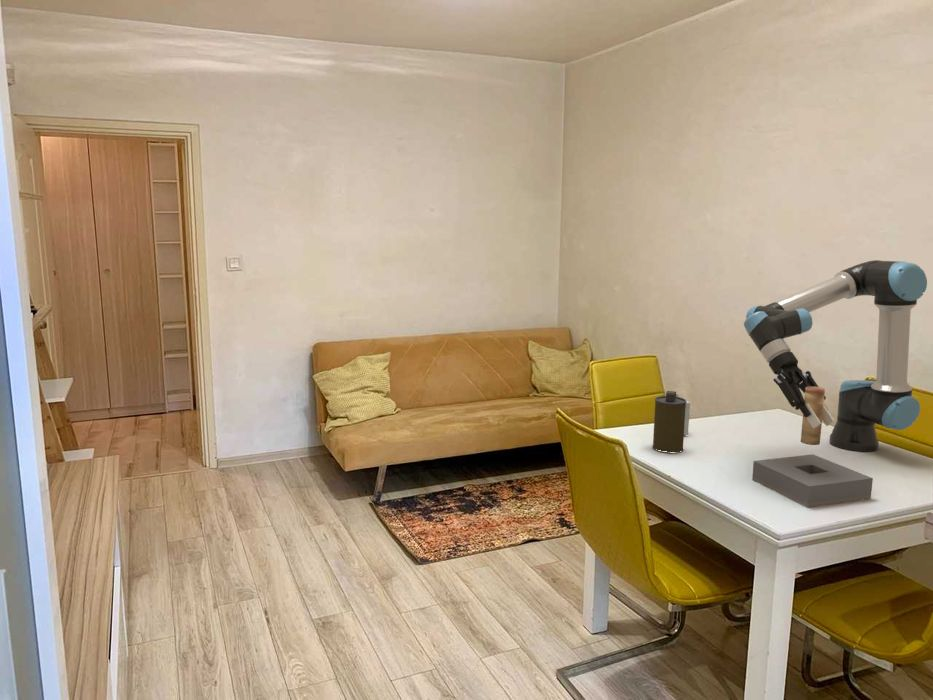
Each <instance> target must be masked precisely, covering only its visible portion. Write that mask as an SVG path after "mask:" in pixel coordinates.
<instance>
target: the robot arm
mask: <svg viewBox="0 0 933 700" xmlns="http://www.w3.org/2000/svg"><path fill="white" fill-rule="evenodd" d="M927 286H928V278H927V275H926V273H925V271H924V270H923V268H921V267H920V266H919V265H918V264H916V263H913V262H907V261H897V260H893V261H892V260H877V259H875V260H874V259H873V260H868V261H865V262H862V263H859V264H855V265H853V266H850V267H848V268H845V269H843V270H840V271H838V272H836V273H835V274H834V277H832V278H829V279H827V280H825V281H822V282H820V283H817V284H814V285H812V286H810V287H808V288H806V289H803V290H801V291H798V292H795V293H793V294H790V295H789V296H786V297H784V298H781V299H778V300H776V301H774V302H771V303H769V304H767V305H754V306H751V307H750V308H749V309H748V310H747V312H746V315H745V320H744V321H743V327H744V329H745V331H746V333H747V334H748V336H749V337H750V339H751V340H752V341H753V343H754V345H755V346H756V347H757V349H758V350H759V352H760V353H761V355H762V357H763V358H764V360H765V361H766V363H767V364H768V366H769V368H770V369H771V371H772V373H773V374H774V375H776V376H775V378H773V379H772V380H773V382H774V383H775V384H776V385H777V386H778V387H779V389H780V391H781V393H782V394H783V395H784V397H785V398H786V400H787V401H788V403H789V404H790V406H791V407H792V408H794V410H796V411H799V410H800V411H801V413H802V416H803V415H804V416H805V417H806V418H807V420H808V422H809V423H810V425H811V426H812V428H816V427H817V426H818V425H820V424H821V422H820V420H819V419H818V417H817V416H816V414H815V413H814V411H813V410H812V408H811V407H810V405H809V404H806V403H805V400H804V398H805V397H804V396H803V394H805V387H808V386H814V387H819V385H818V384H817V382H816V381H815V379H814V378H813V376H812V373H811V371H809V370H807V371H803V370H802V369H801V368H800V367H799V366H798V364H799V359H798V358H797V357H796V355H795V354H794V352H792V351H791V348H790V347H789V345H788V343H787V342H786V341H785V339H787V338H791V337H793V336H794V337H795V336H798V335H802V334H804V333H807V332H809V331H810V330H811V329H812V327H813V317H812V315H811V312H813V311H816V310H819V309H820V308H823V307H825V306H828V305H831V304H833V303H836V302H838V301H840V300H843V299H846V300H849V299H851V300H852V298H855V297H860V296H861V297H862V296H872V297H874V299H873V302H874V304H873V305H875V307H876V308H878V311H879V312H878V314H879V315H878V316H879V317H878V333H877V353H876V354H877V358H876V359H877V360H876V376H875V377H876V379H875V380H864V379H863V380H861V379H856V380H855V379H853V380H852V379H851V380H845V381H842V382H841V385H840V388H839V392H838V393H839V394H838V402H837V405H838V406H837V417H836V418H837V419H836V423H835V425H834V427H833V429H832V431H831V433H830V435H829V438H828V439H829V444H830V445H832V446H834V447H837V448H840V449H844V450H848V451H856V452H875V451H877V450H879V444H880V443H879V440H878V437H877V430H876V425H879V426H882V427H884V428H885V429H892V430H896V431H900V430H901V431H902V430H906V429H907V428H909V427H910V426H912V425H913V423H915V422H916V421H917V419H918V417H919V416H920V412H921V405H920V402H919V401H918V399H916V398H915V397H914V396H913V387H912V386H911V385H910V384H909V383H908V369H909V367H908V366H909V349H910V348H909V347H910V346H909V345H910V333H911V329H910V328H911V312H912V311H911V310H912V309H913V308H914V307H915V306H917V304H918V300H919V299H921V298H922V297H923V295H924V293H925V292H926V290H927ZM801 391H802V392H803V394H802V392H801ZM826 399H827V397H826V395H824V401H825V400H826ZM805 404H806V405H805ZM834 422H835V419H834V418H833V416H832V415H831V413H830V411H829V409H828V408H827V406H826V405H825V404H824V405H823V415H822V423H824V425H825V426H826V427H829V426H830V425H831V424H832V423H834Z"/></svg>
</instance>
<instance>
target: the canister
mask: <svg viewBox="0 0 933 700" xmlns="http://www.w3.org/2000/svg"><path fill="white" fill-rule="evenodd" d="M686 400H687V399H686V398H684V397H680V396H678V394H677V391H675V390H674V391H673V390H667V391H666V393H665V395H661V396H656V397H655V398H654V418H653V420H654V421H653V438H652V440H653V441H652V446H651V447H653V448H654V449H657V450H661V451H667V452H680V451H682V452H683V451H684V450H685V449H683V448H684V439H685V438H684V437H685V436H684V425H685V408H686V402H687V401H688V400H687V401H686ZM653 448H652V449H653ZM654 449H653V450H654ZM680 453H681V452H680Z"/></svg>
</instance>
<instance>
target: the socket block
mask: <svg viewBox="0 0 933 700" xmlns="http://www.w3.org/2000/svg"><path fill="white" fill-rule="evenodd" d="M752 467H753V468H752V479H751V481H754V482H755V481H756V483H757V482H758V483H757V484H759V483H760V485H761V484H762V485H761V486H764V487H766V488H767V489H770V490H771V491H773V490H774V491H773V492H775V491H776V492H775V493H777V492H778V494H779V495H782V496H784V497H786V498H788V499H790V500H792V501H794V502H796V503H798V504H800V505H802V506H804V507H806V508H811V507H818V506H827V505H834V504H840V503H848V502H849V501H850V502H854V501H855V500H857V501H861V499H864V500H869V499H868V498H871V499H872V489H873V481H874V478H873V477H871V476H868V475H866V474H863V473H861V472H859V471H856V470H854V469H851V468H848V467H846V466H843V465H841V464H838V463H836V462H834V461H831V460H828V459H826V458H823V457H820V456H818V455H815V454H805V455H803V454H802V455H795V456H794V455H793V456H786V457H777V458H767V459H760V460H759V459H758V460H753V466H752Z"/></svg>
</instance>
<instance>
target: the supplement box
mask: <svg viewBox="0 0 933 700" xmlns="http://www.w3.org/2000/svg"><path fill="white" fill-rule="evenodd" d="M685 400H686V401H687V402H686V408H685V425H684V435H688V436H689V426H690V424H689V423H690V407H691V406H690V405H691V402H690V401H688V400H687V399H685Z"/></svg>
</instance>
